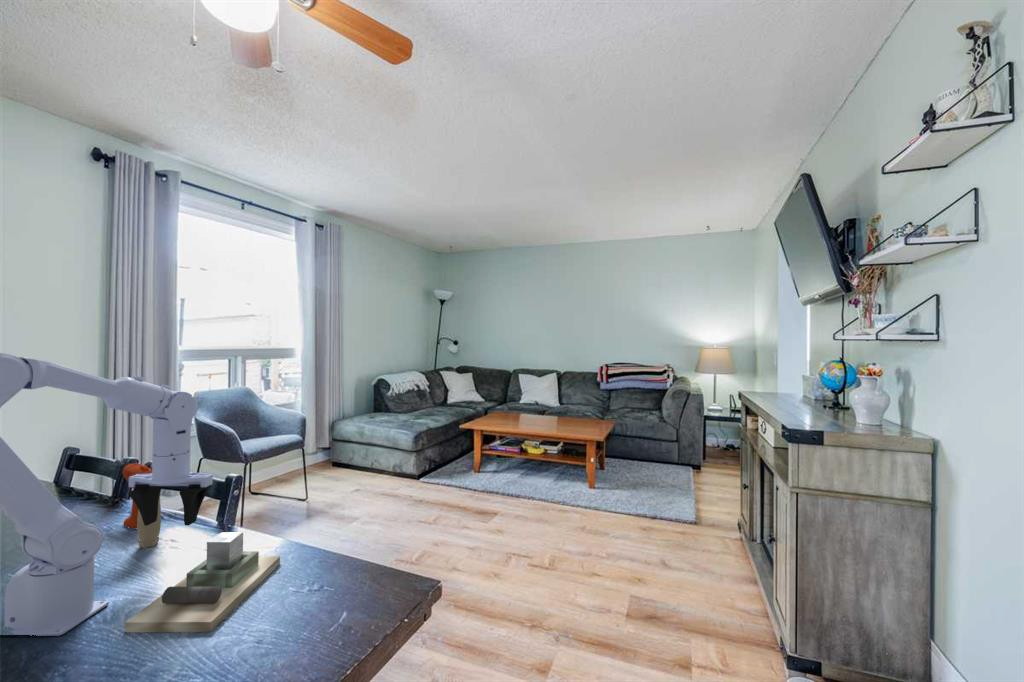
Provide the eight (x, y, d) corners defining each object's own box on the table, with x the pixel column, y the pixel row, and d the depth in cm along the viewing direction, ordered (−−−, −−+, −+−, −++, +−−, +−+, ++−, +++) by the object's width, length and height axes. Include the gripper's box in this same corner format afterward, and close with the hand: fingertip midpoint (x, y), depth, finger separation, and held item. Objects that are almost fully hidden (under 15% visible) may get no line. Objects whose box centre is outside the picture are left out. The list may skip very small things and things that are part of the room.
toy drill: (124, 503, 111) (129, 448, 111) (159, 527, 102) (164, 467, 102) (100, 509, 107) (105, 452, 106) (134, 535, 98) (139, 472, 97)
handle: (172, 540, 94) (173, 473, 94) (138, 554, 88) (139, 482, 88) (158, 537, 95) (159, 471, 96) (124, 549, 89) (125, 479, 90)
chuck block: (124, 632, 64) (125, 605, 64) (214, 564, 84) (214, 544, 84) (210, 631, 64) (211, 605, 64) (279, 563, 84) (280, 543, 84)
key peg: (206, 581, 75) (207, 542, 75) (221, 569, 79) (221, 532, 79) (228, 581, 75) (229, 542, 75) (242, 569, 79) (243, 532, 79)
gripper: (223, 447, 85) (222, 514, 85) (150, 447, 85) (149, 514, 85) (198, 457, 78) (197, 530, 78) (119, 456, 78) (117, 530, 78)
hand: (170, 523), depth 81 cm, fingers open, 7 cm apart
